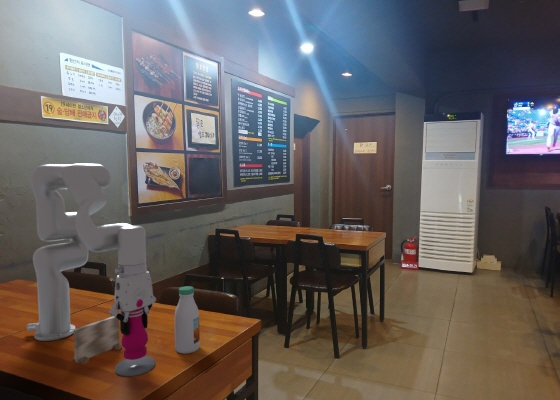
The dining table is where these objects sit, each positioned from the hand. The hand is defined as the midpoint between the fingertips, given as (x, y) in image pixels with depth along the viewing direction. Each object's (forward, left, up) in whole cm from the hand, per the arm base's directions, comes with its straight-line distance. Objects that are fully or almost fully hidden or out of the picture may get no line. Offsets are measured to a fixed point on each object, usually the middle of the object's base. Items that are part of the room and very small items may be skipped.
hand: (134, 329), depth 112 cm
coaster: (0, 0, -11) cm, 11 cm away
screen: (-13, +11, -11) cm, 20 cm away
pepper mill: (0, 0, -8) cm, 8 cm away
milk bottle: (+14, +9, -11) cm, 20 cm away
